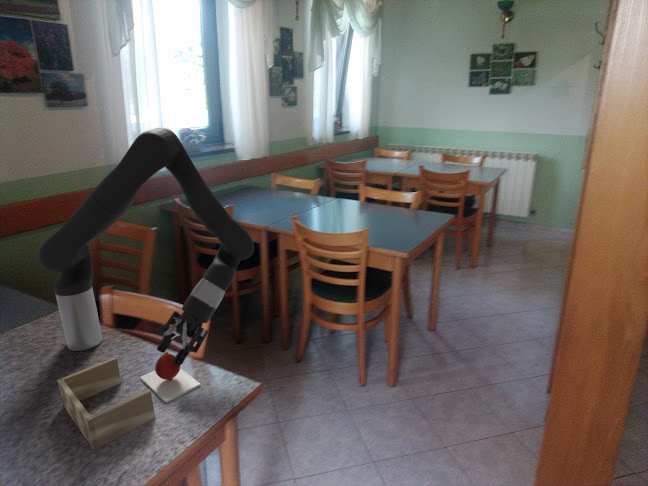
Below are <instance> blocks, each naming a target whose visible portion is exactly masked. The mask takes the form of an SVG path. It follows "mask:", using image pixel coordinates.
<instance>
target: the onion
mask: <svg viewBox="0 0 648 486" xmlns="http://www.w3.org/2000/svg"><path fill="white" fill-rule="evenodd" d="M175 357H176V355H173V354H171V353H169V351H165V352H164V353H162V355H161V356H160V357H159V358H158V359H157V361H156V363H155V369H154V371H156V374H157V375H158V376H159V377H160V378H162V379H165V380H172V379H173V378H174V377H175V376H176V375H177V374H178V373H179V370H180V368H181V365H180V366H178V365H176V364H174V363H173V360H174V358H175Z"/></svg>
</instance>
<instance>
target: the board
mask: <svg viewBox="0 0 648 486" xmlns="http://www.w3.org/2000/svg"><path fill="white" fill-rule="evenodd" d="M139 379H140V380H141V381H142V382H143V383H144V384H145V385H146V386H147V387H148V388H149V390H150V391H152V392H153V393H154V394H156V396H158V397H159V398H160V400H162V401H163V402H164V403H165V404H168V403H169V402H172V401H174V400H175V399H177V398H179V397H181V396H184V395H185V394H187V393H189V392H191V391H194V390H196V389H197V388H199V387H201V383H200V382H199V381H197V380H196V379H195V378H193V377H192V376H191V375H190V374H188V373H187V372H186V371H185V370H183V369H182V368H181V367H180V370H179V373H178V374H177V375H176V376H175V377H174V378H173V379H172V380H165V379H162V378H160V377H159V376H158V375H157V374H156V371H155V370H153V371H151V372H149V373H146V374H144V375H142V376H139Z"/></svg>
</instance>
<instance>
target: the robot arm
mask: <svg viewBox="0 0 648 486" xmlns="http://www.w3.org/2000/svg"><path fill="white" fill-rule="evenodd" d="M164 168H165V169H166V170H167V171H169V172H170V173H171V175H172V176H173V177H174V178H175V179H176V182H177V183H178V184H179V187H180V188H181V190H182V193H183V194H184V196H185V199H186V201H187V203H188V206H189V208H190V210H191V211H192V213H193V215H195V217H196V218H197V219H198V221H199V222H200V223H201V224H202V225H203V228H205V229H206V231H208V232H209V233H210V234H211V235H213V236H215V237H216V239H218V241H220V243H221V244H220V246H219V248H218V250H217V252H216V254H215V256H214V258H213V261H212V263H211V264H210V265H209V266H208V268H207V269H206V271H205V272H204V274H203V276H202V277H201V279H200V280H199V281H198V283H197V284H196V285H195V286H194V287H193V289H192V291H191V293H190V294H189V296H188V297H187V299H186V300H185V302H184V304H183V305H182V306H181V311H183V313H180V312H179V311H177V310H174V312H172V314H171V315H170V317H169V318H168V319H167V322H166V323H165V325H163V326H162V329H161V331H162V332H163V337H162V338H161V341H160V342H159V343H158V345H157V347H156V350H157V351H158V352H160V353H162V354H164V353H165V352H167V349H168V348H169V346H170V345H171V343H172V342H173V340H174V339H175V338H176V337H179V336H181V340H182V345H181V348H180V349H179V350H178V352H177V354H176V355H175V358H174V360H173V363H174V364H176V365H178V366H180V367H181V365H182V364H184V362H185V360H186V358H187V357H188V355H189V354H190V353H194V354H197V353H198V352H199V350H200V348H201V346H202V344H203V343H204V340H205V339H206V337H207V335H208V334H209V331H208V330H207V329H206V328H204V327H203V324H208V323H209V321H210V320H211V318H212V316H213V315H214V313H215V311H216V310H217V308H218V307H219V305H220V304H221V302H222V300H223V298H224V296H225V293H226V291H228V288H229V287H230V286H231V284H232V282H233V281H234V279H235V277H236V274H235V273H236V272H235V271H236V270H237V268H238V266H239V264H240V263H241V261H243V260H244V261H245V260H247V259H249V258H251V256H252V255H253V254H254V251H255V243H254V240H253V239H252V237H251V236H250V234H249V233H248V232H247V231H246V230H245V228H244V227H242V225H240V224H239V223H238V222H237V221H236V220H235V219H234V218H233V217H232V216H231V214H230V213H229V212H228V211H227V209H226V208H225V207H224V206H223V204H222V203H221V201H219V199H218V198H217V197H216V195H215V194H214V192H213V191H212V190H211V189H210V187H209V186H208V184H207V183H206V182H205V180H204V179H203V177H202V175H201V174H200V173H199V170H198V169H197V167H196V166H195V164H194V163H193V161H192V159H191V157H190V156H189V155H188V152H187V151H186V148H185V146H184V145H183V143H182V142H181V140H180V138H179V137H178V136H177V134H176V133H175V132H174V131H173V130H171V129H169V128H165V127H155V128H152V129H150V130H146V131H144V132H141V133H140V134H139V135H138V136H137V137H136V138H135V139H134V141H133V142H132V143H131V145H130V146H129V148H128V149H127V151H126V152H125V154H124V155H123V157H122V159H121V160H120V162H119V163H118V164H117V165H116V166H115V168H113V169H112V170H111V171H110V172H109V173H108V174H107V175H106V176H104V178H103V179H102V180H101V181H100V182H99V183H98V184H97V185H96V186H95V187H94V189H93V190H92V191H90V192H89V194H88V195H87V196H86V197H85V199H84V200H83V201H82V202H81V204H80V205H79V206H78V208H77V209H76V210H75V211H74V212H73V213H72V214H71V216H70V217H69V218H68V220H67V221H66V222H65V223H64V224H63V225H62V226H61V228H59V229H58V230H57V231H56V232H55V233H54V234H53V235H52V236H50V237H49V238H48V239H46V240H45V241H44V242H43V243H42V245H41V246H40V248H39V251H38V259H39V260H38V261H39V263H40V264H41V266H42V268H44V269H45V270H47V271H49V272H52V273H53V272H54V273H60V274H59V276H58V278H56V280H55V282H54V284H53V289H54V293H55V299H56V302H57V305H58V306H57V307H58V311H59V312H58V313H59V315H60V319H61V324H62V329H63V333H64V338H65V341H66V342H65V343H66V347H67V349H68V350H70V351H73V352H81V351H85V350H90V349H92V348H94V347H97V346H98V345H99V344H100V343H102V341H103V333H102V329H101V324H100V320H99V319H100V318H99V315H98V314H99V313H98V309H97V304H96V299H95V295H94V294H95V293H94V290H93V285H92V284H93V283H92V280H93V273H94V272H93V265H92V259H91V253H90V252H91V251H90V248H89V244H88V243H90V242H91V241H92V240H94V239H95V238H96V237H98V236H100V235H102V233H104V232H105V231H107V230H108V229H109V228H111V227H112V226H113V225H114V224H115V223H117V222H118V220H119V219H120V218H122V216H124V214H125V213H126V212H128V210H129V209H130V207H131V206H132V204H133V203H134V201H135V199H136V196H137V194H138V192H139V190H140V189H141V188H142V186H143V185H144V184H145V183H146V182H147V181H148V180H149V179H151V178H152V177H153V176H154V175H155V174H156V173H158V172H159V171H161V170H162V169H164ZM194 345H195V346H194Z"/></svg>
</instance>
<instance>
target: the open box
mask: <svg viewBox="0 0 648 486" xmlns="http://www.w3.org/2000/svg"><path fill="white" fill-rule="evenodd" d="M56 381H57V385H58V390H59V393H60V398H61V402H62V406H63V408H64V409H65V410H66V412H67V413H68V415H69V416H70V417H71V419H72V420H73V422H74V423H75V425H76V427H78V429H79V432H81V433H82V435H83V437H84V438H85V439H86V441H87V442H88V444H89V445H90V447H91V448H92V449H93V450H96V449H98V448H101V447H102V446H104V445H105V444H108V443H110V442H112V441H114V440H116V439H117V438H119V437H121V436H123V435H125V434H127V433H129V432H131V431H133V430H135V429H137V428H139V427H141V426H143V425H144V424H146V423H149V422H150V421H153V420H154V419H156V414H155V408H154V401H153V397H152V396H153V395H152V390H151V389H150V388H149V389H146V390H145V391H141V392H140V393H138V394H136V395H133V396H131V397H129V398H128V399H125V400H123V401H120V402H119V403H116V404H114V405H113V406H110V407H108V408H105V409H104V410H102V411H100V412H98V413H95V414H93V415H90V413H89V412H88V411H87V409H86V408H85V407H84V405H83V404H82V403H81V401H83V400H86V399H88V398H91V397H93V396H95V395H98V394H100V393H102V392H104V391H106V390H108V389H111V388H113V387H115V386H117V385H119V384H122V379H121V375H120V368H119V363H118V358H117V357H116V356H114V357H113V358H109V359H107V360H105V361H102V362H100V363H97V364H95V365H92V366H89V367H87V368H84V369H82V370H79V371H77V372H74V373H71V374H69V375H67V376H64V377H62V378H59V379H57V380H56Z"/></svg>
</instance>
